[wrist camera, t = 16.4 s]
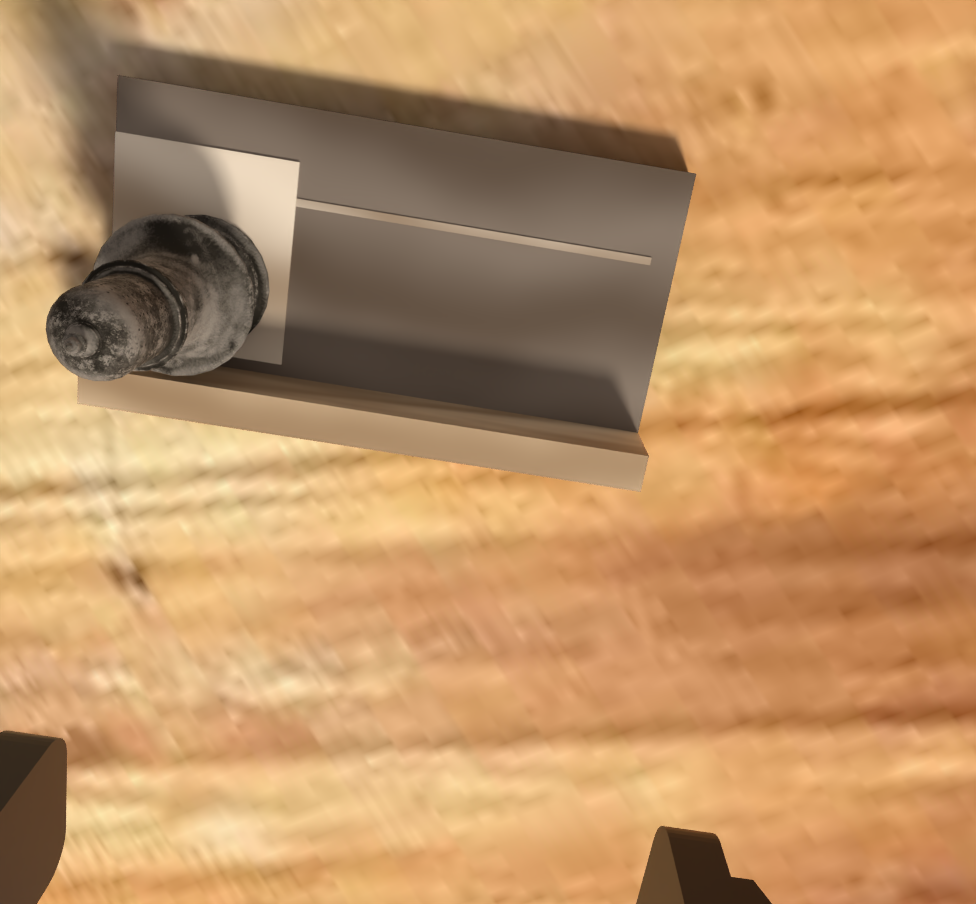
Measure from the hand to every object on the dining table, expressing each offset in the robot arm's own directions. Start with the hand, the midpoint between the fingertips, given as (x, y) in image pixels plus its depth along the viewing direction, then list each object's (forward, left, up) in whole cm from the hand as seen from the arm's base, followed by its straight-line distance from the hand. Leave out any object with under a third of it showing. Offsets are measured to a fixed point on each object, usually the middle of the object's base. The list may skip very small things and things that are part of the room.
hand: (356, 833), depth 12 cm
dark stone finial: (-2, -10, -27) cm, 29 cm away
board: (-3, -3, -28) cm, 28 cm away
